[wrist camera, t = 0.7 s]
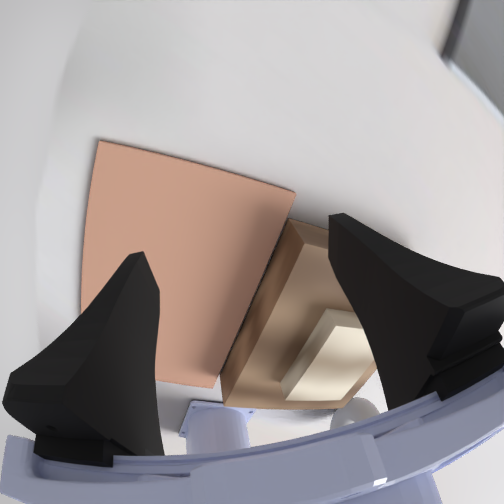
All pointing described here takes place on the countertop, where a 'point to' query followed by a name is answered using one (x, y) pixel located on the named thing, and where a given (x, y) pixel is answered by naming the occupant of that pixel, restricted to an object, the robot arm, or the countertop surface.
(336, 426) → the donut
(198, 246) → the mat
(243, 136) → the countertop surface
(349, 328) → the cream rectangular block
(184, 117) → the countertop surface
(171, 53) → the countertop surface
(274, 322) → the block
